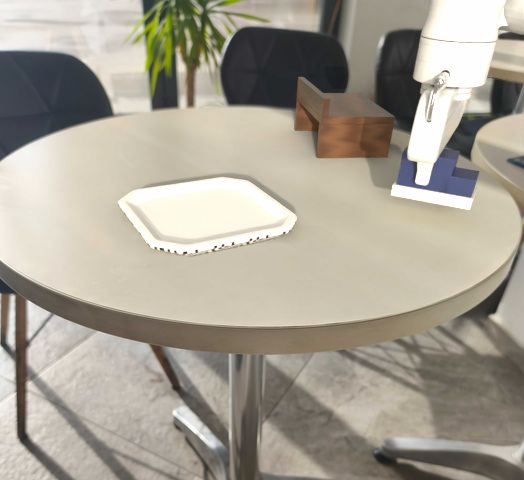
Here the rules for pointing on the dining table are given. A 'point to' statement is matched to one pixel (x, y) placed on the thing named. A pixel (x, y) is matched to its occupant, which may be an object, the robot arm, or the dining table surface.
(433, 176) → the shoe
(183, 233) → the plate
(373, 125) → the shoe shelf
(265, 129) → the dining table surface
